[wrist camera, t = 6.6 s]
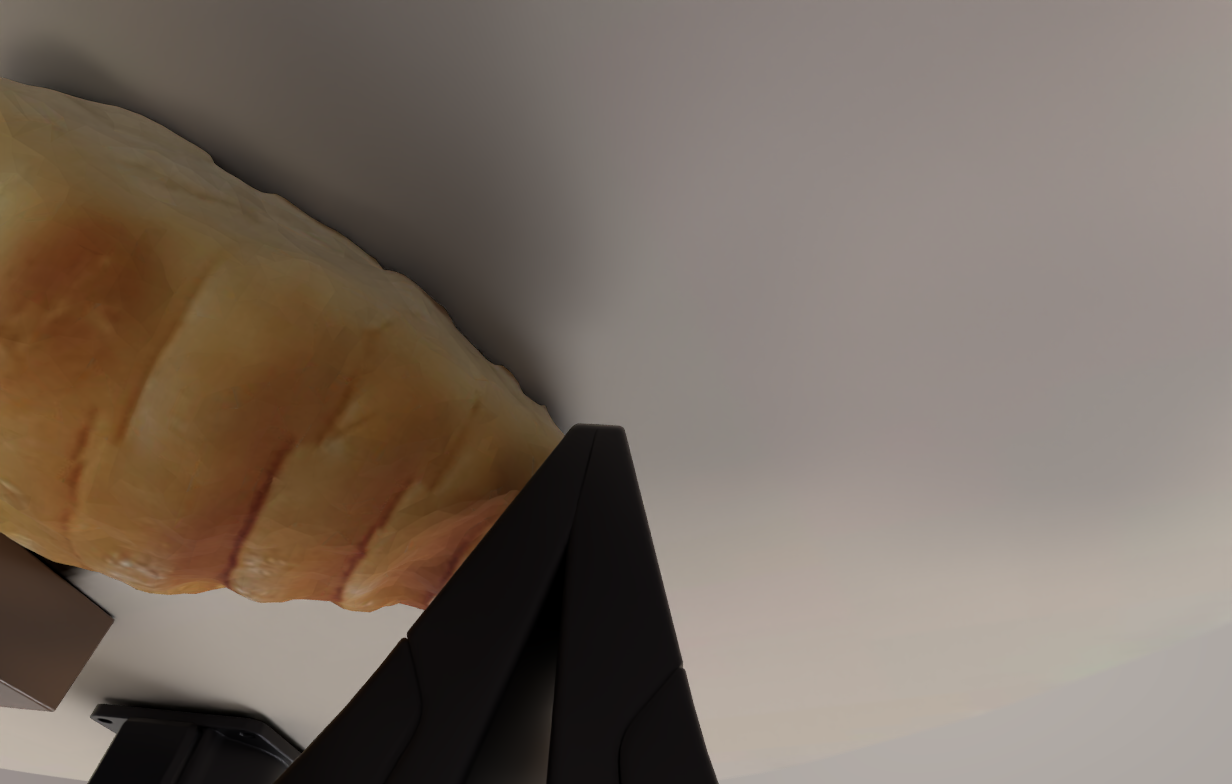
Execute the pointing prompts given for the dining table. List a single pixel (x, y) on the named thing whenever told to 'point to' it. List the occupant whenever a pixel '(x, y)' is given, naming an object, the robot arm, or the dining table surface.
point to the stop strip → (42, 631)
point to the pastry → (229, 380)
